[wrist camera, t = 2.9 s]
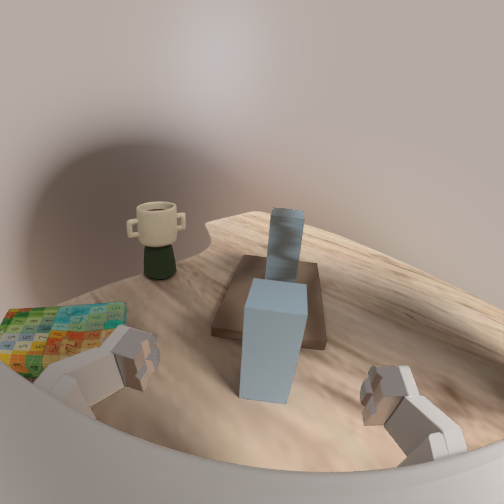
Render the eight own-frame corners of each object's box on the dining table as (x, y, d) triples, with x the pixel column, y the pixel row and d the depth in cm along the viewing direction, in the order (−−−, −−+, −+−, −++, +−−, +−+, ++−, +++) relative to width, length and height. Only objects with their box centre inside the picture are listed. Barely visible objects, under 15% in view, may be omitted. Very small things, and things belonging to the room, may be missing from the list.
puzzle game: (120, 357, 24) (-21, 355, 18) (130, 386, 26) (-5, 383, 19) (124, 297, 34) (7, 303, 28) (129, 324, 36) (17, 329, 29)
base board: (315, 269, 56) (326, 205, 51) (324, 349, 34) (348, 255, 29) (243, 261, 58) (247, 196, 52) (211, 335, 36) (210, 239, 30)
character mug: (180, 261, 56) (179, 198, 50) (193, 276, 50) (192, 207, 45) (129, 271, 50) (122, 205, 45) (136, 288, 44) (128, 215, 39)
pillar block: (288, 371, 30) (306, 284, 26) (286, 404, 26) (307, 315, 21) (246, 365, 31) (253, 277, 26) (239, 397, 26) (244, 307, 22)
